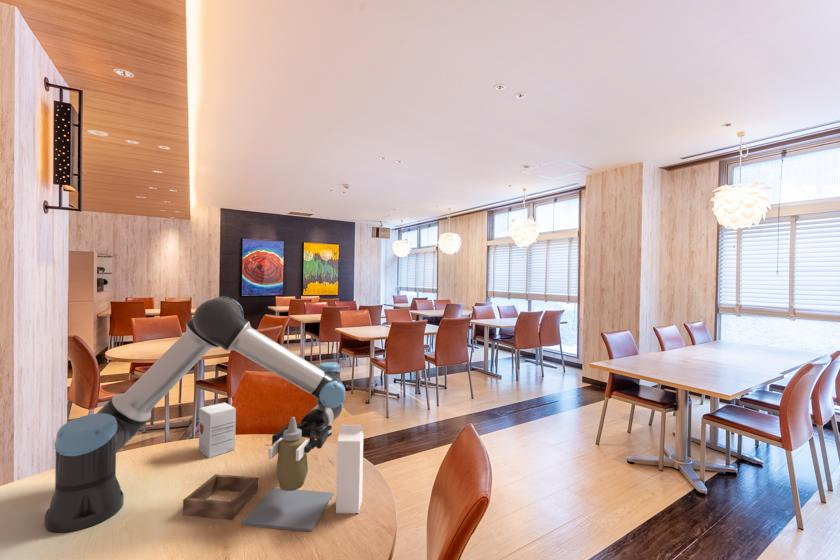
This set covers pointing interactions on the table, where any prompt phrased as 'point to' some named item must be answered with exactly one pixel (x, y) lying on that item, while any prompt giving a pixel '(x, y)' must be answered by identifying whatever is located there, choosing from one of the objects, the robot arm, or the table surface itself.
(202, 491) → the walnut tray
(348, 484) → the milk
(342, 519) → the table surface
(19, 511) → the table surface
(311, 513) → the slate mat
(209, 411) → the supplement box
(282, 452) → the squeeze bottle
